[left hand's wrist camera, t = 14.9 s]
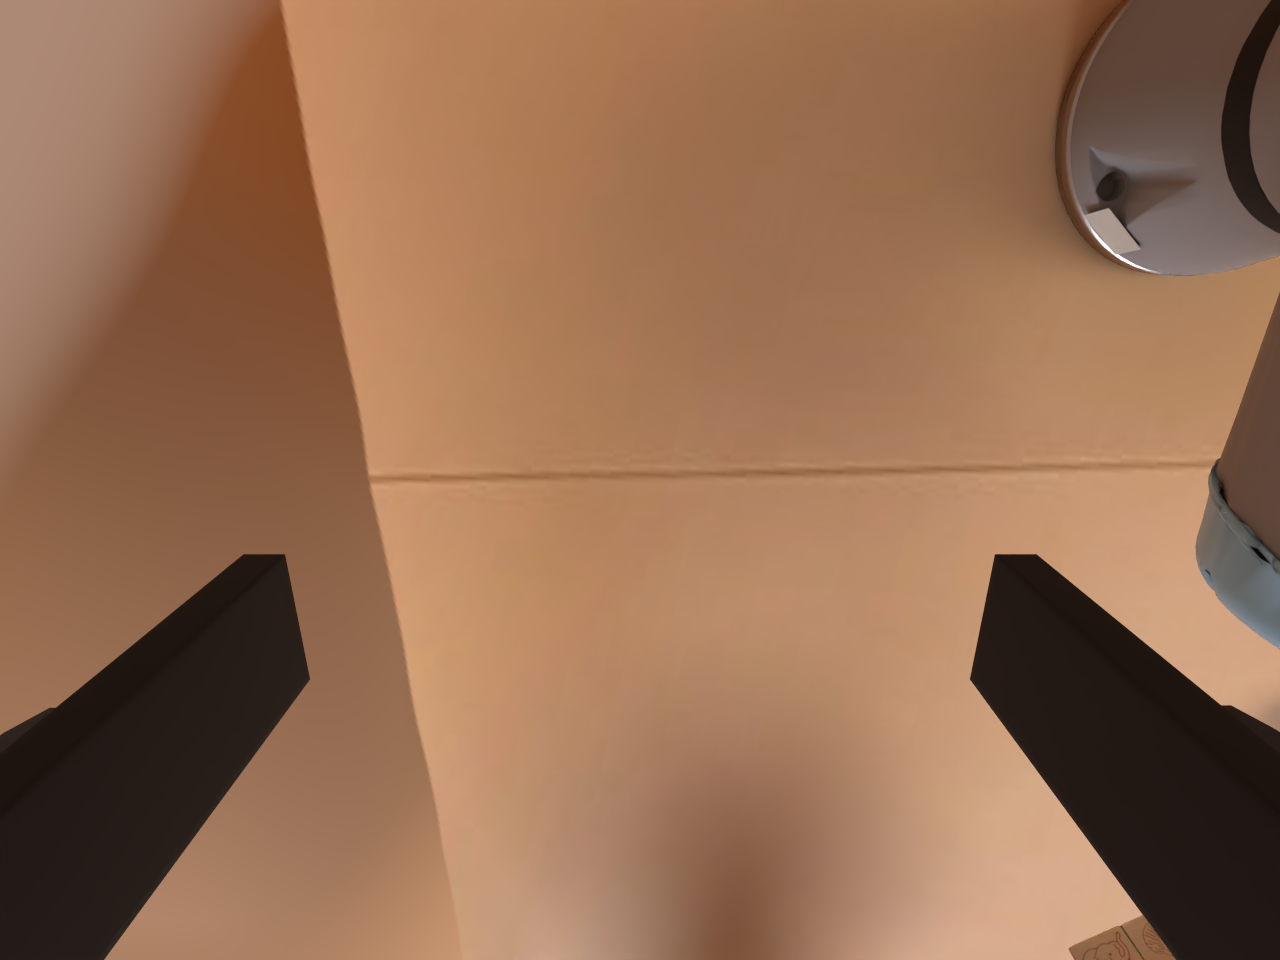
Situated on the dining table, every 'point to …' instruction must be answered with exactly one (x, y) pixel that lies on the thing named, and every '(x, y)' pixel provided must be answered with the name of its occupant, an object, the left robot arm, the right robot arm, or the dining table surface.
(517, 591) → the dining table surface
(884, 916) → the dining table surface
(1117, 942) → the stack of blocks
